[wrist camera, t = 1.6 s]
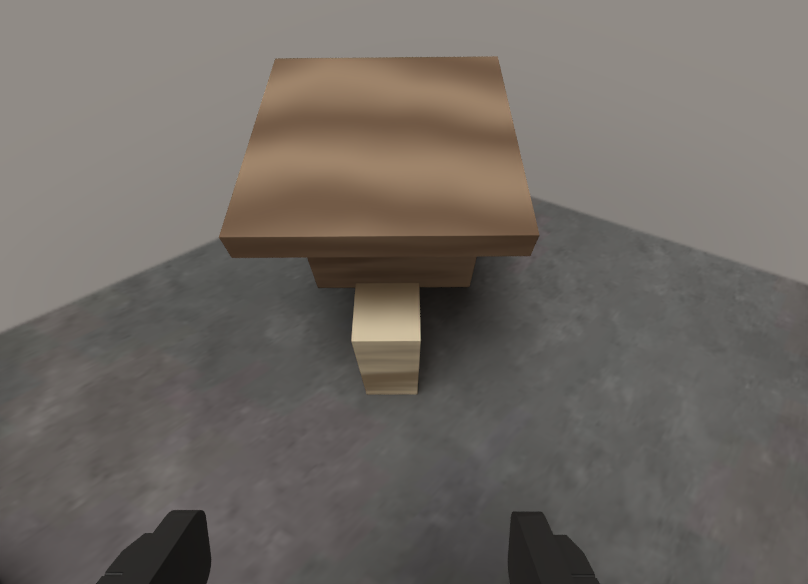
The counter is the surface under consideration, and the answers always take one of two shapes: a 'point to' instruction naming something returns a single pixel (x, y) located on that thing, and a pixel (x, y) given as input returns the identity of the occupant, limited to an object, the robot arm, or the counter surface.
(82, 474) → the counter surface
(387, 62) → the walnut shelf
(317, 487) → the counter surface
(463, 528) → the counter surface
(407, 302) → the oak block
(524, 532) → the robot arm
